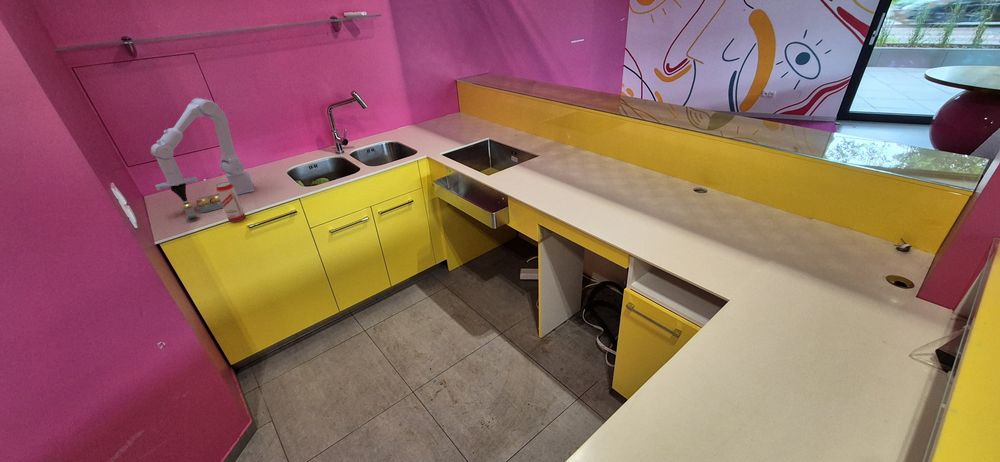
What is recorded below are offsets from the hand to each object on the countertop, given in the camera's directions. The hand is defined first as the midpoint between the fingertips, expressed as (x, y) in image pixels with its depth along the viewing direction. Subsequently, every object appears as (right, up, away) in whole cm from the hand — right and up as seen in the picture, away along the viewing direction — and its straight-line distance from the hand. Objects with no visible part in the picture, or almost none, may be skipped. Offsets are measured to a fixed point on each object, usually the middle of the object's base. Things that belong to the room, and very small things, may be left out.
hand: (185, 200), depth 183 cm
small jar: (+7, -8, -5) cm, 12 cm away
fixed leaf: (+6, 0, +9) cm, 11 cm away
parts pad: (+7, -8, -5) cm, 12 cm away
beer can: (+27, -8, -6) cm, 29 cm away
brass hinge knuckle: (+9, -2, +5) cm, 10 cm away
